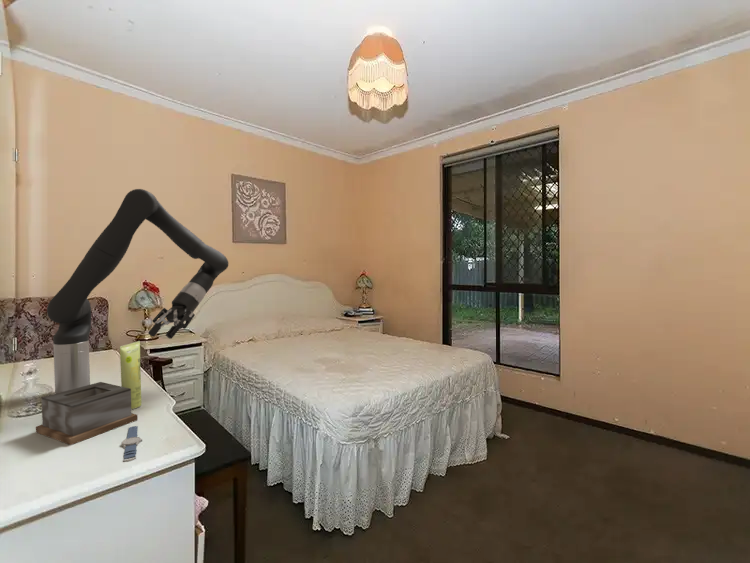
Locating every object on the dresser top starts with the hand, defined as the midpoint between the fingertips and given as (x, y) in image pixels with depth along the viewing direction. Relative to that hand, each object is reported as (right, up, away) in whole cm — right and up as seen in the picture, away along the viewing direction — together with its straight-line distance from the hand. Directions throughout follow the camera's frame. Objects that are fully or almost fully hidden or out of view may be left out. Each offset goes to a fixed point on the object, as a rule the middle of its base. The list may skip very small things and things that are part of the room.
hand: (159, 336), depth 121 cm
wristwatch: (+11, -22, -30) cm, 39 cm away
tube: (-4, -21, -8) cm, 22 cm away
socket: (-7, -21, -21) cm, 30 cm away
